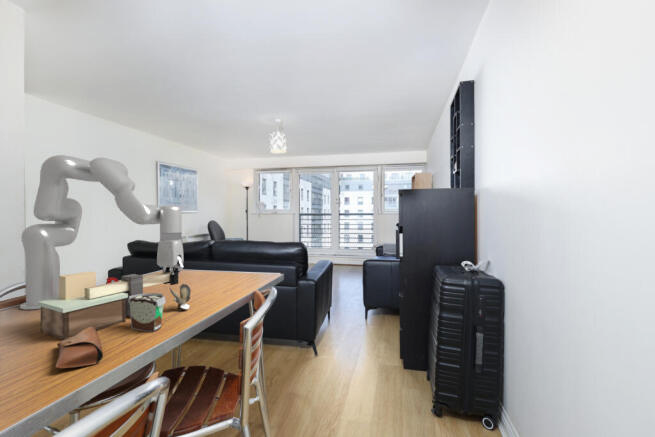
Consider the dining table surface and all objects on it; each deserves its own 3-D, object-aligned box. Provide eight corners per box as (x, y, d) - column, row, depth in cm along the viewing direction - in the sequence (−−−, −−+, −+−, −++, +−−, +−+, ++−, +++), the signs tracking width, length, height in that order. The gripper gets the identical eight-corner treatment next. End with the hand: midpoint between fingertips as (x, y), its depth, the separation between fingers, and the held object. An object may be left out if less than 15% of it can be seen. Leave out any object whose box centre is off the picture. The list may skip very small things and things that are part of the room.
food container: (175, 326, 92) (174, 294, 92) (157, 333, 86) (157, 299, 86) (146, 321, 96) (146, 291, 96) (128, 328, 90) (127, 296, 90)
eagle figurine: (178, 306, 112) (178, 283, 111) (195, 307, 111) (195, 283, 111) (165, 313, 104) (165, 288, 104) (184, 314, 103) (184, 288, 103)
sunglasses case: (54, 342, 76) (74, 318, 79) (82, 352, 80) (100, 328, 83) (54, 369, 63) (78, 339, 66) (87, 378, 67) (109, 350, 70)
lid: (37, 305, 87) (37, 278, 87) (102, 292, 102) (101, 268, 102) (63, 313, 80) (62, 283, 80) (127, 297, 96) (127, 272, 95)
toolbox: (40, 331, 87) (40, 285, 87) (121, 310, 107) (121, 272, 107) (64, 340, 81) (64, 290, 81) (145, 315, 101) (145, 275, 101)
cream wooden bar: (84, 297, 90) (84, 288, 90) (173, 278, 117) (173, 271, 117) (89, 299, 88) (89, 289, 88) (178, 279, 116) (178, 272, 116)
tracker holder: (105, 306, 112) (105, 280, 112) (96, 305, 113) (96, 279, 113) (132, 297, 124) (132, 274, 124) (124, 296, 125) (123, 273, 125)
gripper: (148, 237, 114) (148, 283, 115) (176, 238, 107) (176, 288, 107) (166, 235, 121) (166, 279, 121) (193, 237, 114) (193, 284, 114)
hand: (171, 283), depth 114 cm, fingers closed on cream wooden bar, 3 cm apart
